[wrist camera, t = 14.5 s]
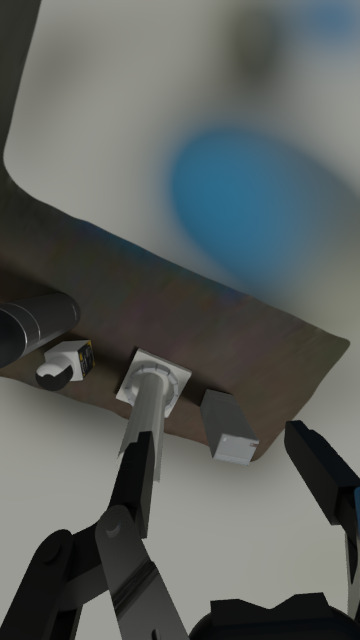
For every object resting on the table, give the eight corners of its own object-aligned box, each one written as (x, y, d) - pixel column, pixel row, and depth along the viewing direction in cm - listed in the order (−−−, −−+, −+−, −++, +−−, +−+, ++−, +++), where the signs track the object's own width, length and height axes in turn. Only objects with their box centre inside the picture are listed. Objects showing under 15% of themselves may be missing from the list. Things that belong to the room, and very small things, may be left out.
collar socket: (117, 394, 52) (112, 404, 48) (138, 348, 49) (135, 354, 45) (167, 413, 54) (166, 424, 50) (191, 370, 50) (192, 378, 47)
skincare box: (199, 406, 53) (208, 461, 38) (207, 385, 52) (220, 433, 36) (227, 413, 54) (247, 470, 39) (236, 393, 53) (261, 443, 37)
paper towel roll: (139, 374, 49) (112, 451, 28) (162, 372, 49) (153, 447, 28) (143, 398, 51) (120, 487, 30) (166, 396, 51) (159, 484, 30)
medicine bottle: (95, 365, 50) (70, 394, 38) (67, 366, 49) (34, 396, 38) (90, 339, 48) (63, 362, 36) (62, 341, 48) (25, 364, 36)
